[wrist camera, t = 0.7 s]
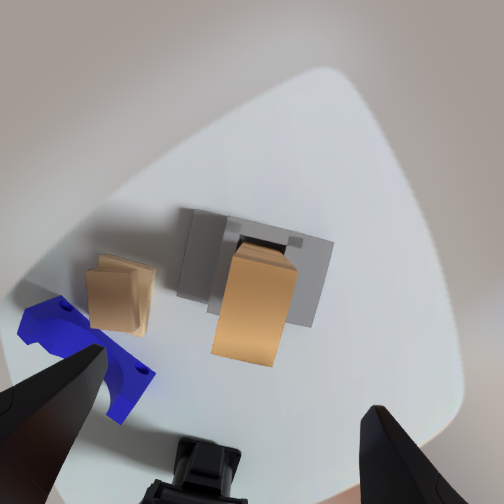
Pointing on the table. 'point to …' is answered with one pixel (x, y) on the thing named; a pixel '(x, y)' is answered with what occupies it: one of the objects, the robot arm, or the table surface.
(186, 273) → the rack
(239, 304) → the tall strip
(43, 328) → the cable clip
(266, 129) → the table surface
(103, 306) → the upper offcut
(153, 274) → the lower offcut
